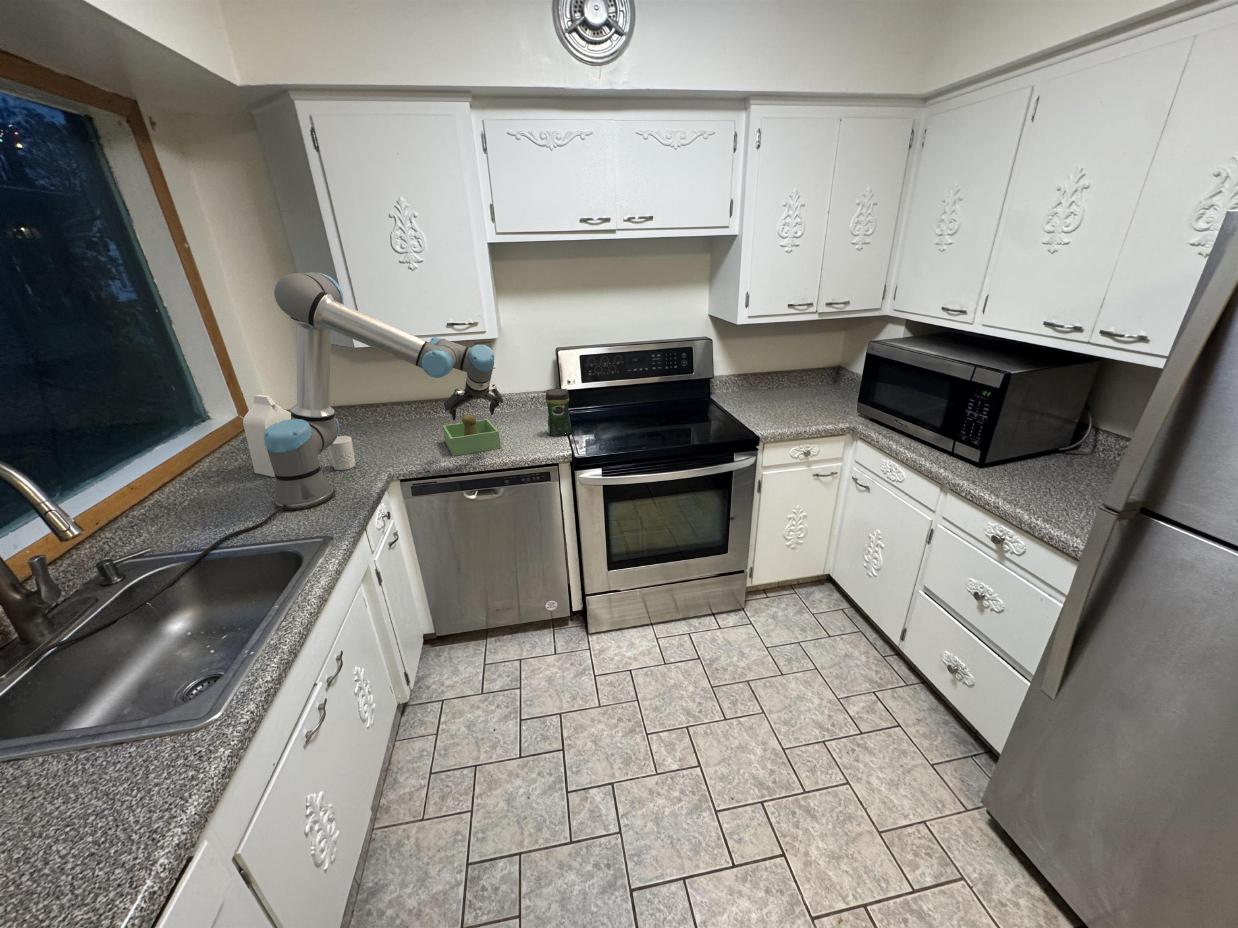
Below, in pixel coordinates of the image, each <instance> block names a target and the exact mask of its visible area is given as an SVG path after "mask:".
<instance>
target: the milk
mask: <svg viewBox="0 0 1238 928" xmlns="http://www.w3.org/2000/svg"><path fill="white" fill-rule="evenodd" d="M285 420H291V411H288V410H286V409H285V408H282V407H281V405H279V404H277V403H275V401H274V399H273V398H272V396H271V395H264V394H254V395H253V404H252V406H251V407H250V408H249V410H248V411H247V413H246V414H245V415H244V417H243V419H242V424H243V429H244V434H245V437H246V442H247V447H248V450H249V454H250V459H251V463H252V468H253V472H254V474H257V475H263V476H268V477H272V478H275V474H274V471H273V468H272V464H271V461H270V458H269V454H268V451H267V448H266V446H265V439H264V432H265V430H266V429H267V428H268V427H269V426H271V425H273V424H275V423H280V422H281V421H285Z"/></svg>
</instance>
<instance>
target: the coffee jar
mask: <svg viewBox="0 0 1238 928" xmlns="http://www.w3.org/2000/svg"><path fill="white" fill-rule="evenodd" d="M544 401H545V404H546V406H547V433H548V435H549V436H551V437H555V436H556V437H557V436H558V437H559V436H561V437H562V436H567V435H570V434H571V433H572V423H571V418H570V410H569V403H570V394H569V390H568V388H549V389H546V391H545V399H544ZM565 433H566V434H565Z"/></svg>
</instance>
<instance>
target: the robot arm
mask: <svg viewBox="0 0 1238 928" xmlns="http://www.w3.org/2000/svg"><path fill="white" fill-rule="evenodd" d="M273 294H274V299H275V302H276V304H277V306H278V307H279V308H280V310H281V311H282V312H283V313H285V314H286V315H287V316H289V317H290V320H291V321H292V322H293V323H294V324H295V325H296V404H295V405H293V406H292V407H291V408H290V413H291V420H285V421H281V422H280V423H275V424H273V425H271V426H269V427H268V428H267V429H266V430H265V432H264V439H265V446H266V448H267V451H268V454H269V458H270V461H271V464H272V468H273V471H274V474H275V477H274V478H275V491H274V493H275V494H274V499H273V500H274V504H275V507H276V508H277V509H276V510H274V511H272V512H271V514H270V515H268V516H267V517H266V518H265V519H263V520H262V521H260V522H258V523H256V524H254V525H251V526H249V527H245V528H242V529H239V530H236V531H233V532H231V533H229V534H227V535H225V536H223V537H221V538H219V539H218V540H216V541H215V542H213V543H212V544H211V545H210V546H208V547H207V548H206V549H204V550H203V551H202V552H201V553H199V554H198V555H197V556H196V557H195V558H194V559H193V560H192V561H190V563H188V564H187V565H186V566H185V567H184V568H183V569H182V570H180V571H179V572H178V573H177V574H176V575H175V576H174V577H173V578H171V580H168V582H167V583H166V584H164V585H163V586H162V587H160V588H159V589H158V590H156V591H155V592H153V593H152V594H151V595H149V596H148V597H146V598H145V599H143V600H142V601H140V602H138V603H137V604H135V605H134V606H132V607H130V608H129V609H127V610H125V611H123V612H122V613H120V614H118V615H115V616H114V617H112V618H110V619H108V620H106V621H105V622H103V623H102V622H101V623H100V624H98V625H96V626H94V627H92V628H90V629H89V630H86V631H83V632H82V633H80V634H78V635H74V636H71V637H70V638H66V639H64V640H61V641H58V642H55V643H52V644H50V645H48V646H46V647H44V648H42V649H40V650H39V651H38V652H37V653H35V654H34V655H33V656H32V657H31V658H30V660H29V661H28V662H27V664H26V666H25V668H31V667H33V666H34V665H35V663H36V662H37V661H38V660H39V659H40V657H42V656H43V655H44V654H46V653H47V652H49V651H52V650H54V649H57V648H59V647H62V646H65V645H67V644H70V643H74V642H76V641H78V640H80V639H83V638H86V637H87V636H89V635H91V634H94V633H95V632H97V631H99V630H101V629H103V628H105V627H107V626H109V625H112V624H113V623H116V622H117V621H119V620H121V619H122V618H125V617H126V616H128V615H131V614H132V613H133V612H135V611H136V610H138V609H140V608H142V607H143V606H145V605H147V604H149V602H150V601H152V600H154V599H155V598H157V597H158V596H159V595H160V594H162V593H163V592H165V591H166V590H167V589H168V588H170V587H171V586H172V585H174V583H176V581H178V580H179V579H180V578H181V577H183V576H184V574H186V573H187V572H188V571H189V570H190V569H191V568H193V566H194V565H195V564H196V563H197V562H198V561H200V560H201V559H202V558H203V557H204V556H206V555H207V554H208V553H210V551H212V550H213V549H214V548H216V547H217V546H218V545H219V544H221V543H223V542H224V541H225V540H228V539H230V538H232V537H234V536H237V535H239V534H243V533H246V532H248V531H252V530H254V529H257V528H259V527H261V526H263V525H265V524H266V523H267V522H269V521H270V520H271V519H273V517H275V516H276V515H277V514H278V513H280V512H281V511H282V510H283V511H298V510H299V511H300V510H306V509H310V508H313V507H316V506H320V505H322V504H323V503H326V502H327V501H329V500H331V499H332V498H333V497H334V496H335V491H334V487H333V485H332V484H331V483H330V482H329V480H328V479H327V477H326V476H325V474H324V473H323V471H322V468H321V464H320V459H319V456H318V455H319V454H321V453H322V452H323V451H325V450H326V449H328V448H327V447H329V446H330V445H331V444H332V443H333V442H334V441H335V440H336V438H337V437H339V434H340V423H339V420H338V419H337V418H336V417H335V413H336V412H335V410H334V408H333V407H332V406H330V393H331V392H330V391H331V390H330V386H331V345H332V344H331V342H332V331H333V332H335V333H338V334H340V335H343V336H345V337H347V338H350V339H352V340H354V341H357V342H358V343H362V344H364V345H366V346H368V347H371V348H373V349H375V350H378V351H381V352H383V353H384V354H387V355H389V356H392V357H394V358H397V359H398V360H401V361H404V362H406V363H409V364H411V365H413V366H415V367H418V368H419V369H422V370H423V371H424V373H425V374H426V375H428V377H431V378H435V379H439V378H444V377H445V376H447V375H449V374H450V373H451V372H452V370H453V369H455V370H458V371H461V372H465V373H466V378H465V384H464V389H463V390H459V388H455V389H454V391H453V393H452V394H451V395H450V396H449V397H448V398H447V399H446V401H444V403H443V407H444V410H445V411H446V412H447V411H448V413H449V415H450V416H451V418H452V421H456V418H457V417H456V416H457V409H458V408H460V407H461V406H462V405H464V404H465V403H469V402H470V401H473V400H479V399H480V400H481V399H483V400H484V401H488V402H489V403H490V404H489V407H488V409H489V412H490V415H491V416H492V415H494V413H495V409H497V408H498V407H500V404H504V403H505V401H504V398H503V396H502V393H500V391H499V390H498V388H497V385H496V384H492V385H491V386H490V384H491V379H492V375H493V370H494V366H495V353H494V350H493V349H492V348H491V347H489V346H488V345H486V344H475V345H473V346H472V347H468V346H464V345H463V344H459V343H456V342H453V341H450V340H447V339H446V338H440V337H437V336H434V337H432V338H431V339H430V341H427V340H425V339H423V338H420V337H418V336H416V335H414V334H411V333H409V332H407V331H404V330H402V329H400V328H398V327H396V326H393V325H391V324H389V323H386V322H384V321H381V319H377V318H376V317H373V316H371V315H368V314H366V313H364V312H361V311H359V310H357V309H354V308H353V307H350V306H348V305H346V304H345V303H344V293H343V290H342V287H341V286H340V285H339V284H338V283H337V281H336V280H335V279H334V278H332V277H331V276H329V275H327V274H324V273H321V272H316V271H315V272H314V271H308V272H299V273H288V274H285V275H284V276H282V277H280V278H279V280H278V281H277V282H276V283H275V286H274V292H273Z"/></svg>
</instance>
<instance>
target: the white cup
mask: <svg viewBox="0 0 1238 928" xmlns="http://www.w3.org/2000/svg"><path fill="white" fill-rule="evenodd" d="M326 449H327V451H328V455H329V458H330V462H331V463H332V466H333V469H334V470H336V471H346V470H349V469H353V468H354V467H355V466H356V460H355V451H354V450H355V449H354V444H353V438H352V436H349V435H340V436H339V435H338V436H337V438H336V440H335V441H334V442H333V443H332V444H331V445H330V446H329V447H327V448H326Z"/></svg>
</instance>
